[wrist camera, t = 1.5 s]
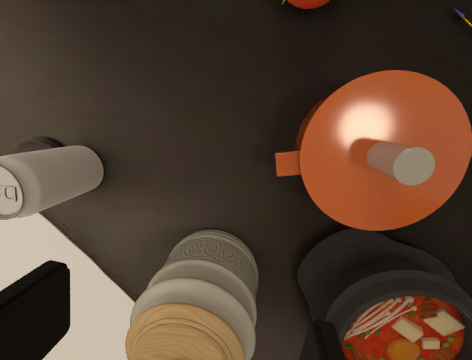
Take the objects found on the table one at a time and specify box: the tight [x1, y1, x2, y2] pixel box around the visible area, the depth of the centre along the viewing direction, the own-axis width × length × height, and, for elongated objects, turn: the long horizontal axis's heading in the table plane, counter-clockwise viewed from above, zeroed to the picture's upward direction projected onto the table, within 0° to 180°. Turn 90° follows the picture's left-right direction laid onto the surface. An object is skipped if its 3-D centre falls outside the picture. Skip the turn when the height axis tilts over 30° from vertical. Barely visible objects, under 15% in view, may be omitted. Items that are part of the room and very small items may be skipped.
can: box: [0, 145, 104, 220], centre depth 29 cm, size 6×6×12 cm
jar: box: [126, 230, 258, 360], centre depth 28 cm, size 13×13×18 cm
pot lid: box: [299, 70, 472, 231], centre depth 21 cm, size 15×15×6 cm
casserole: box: [297, 228, 472, 360], centre depth 31 cm, size 25×19×8 cm
